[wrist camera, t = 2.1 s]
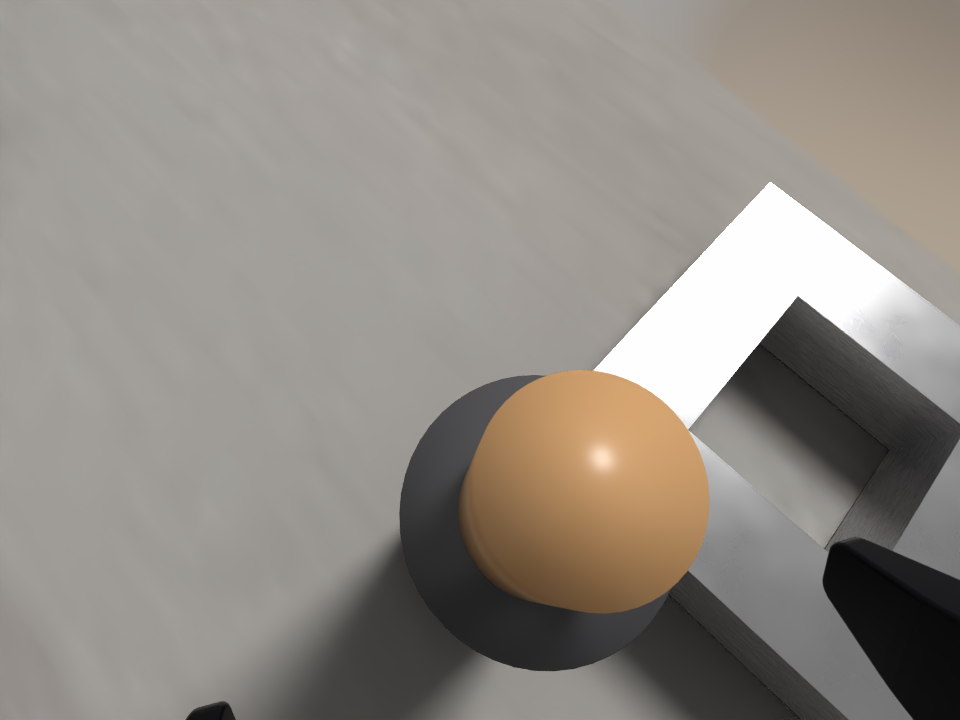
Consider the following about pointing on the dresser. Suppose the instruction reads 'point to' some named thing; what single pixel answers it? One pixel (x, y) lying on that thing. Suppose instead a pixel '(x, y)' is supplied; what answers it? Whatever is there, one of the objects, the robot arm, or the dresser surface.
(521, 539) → the plug
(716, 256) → the socket plate
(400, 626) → the dresser surface
